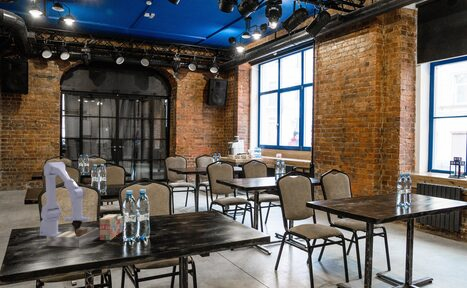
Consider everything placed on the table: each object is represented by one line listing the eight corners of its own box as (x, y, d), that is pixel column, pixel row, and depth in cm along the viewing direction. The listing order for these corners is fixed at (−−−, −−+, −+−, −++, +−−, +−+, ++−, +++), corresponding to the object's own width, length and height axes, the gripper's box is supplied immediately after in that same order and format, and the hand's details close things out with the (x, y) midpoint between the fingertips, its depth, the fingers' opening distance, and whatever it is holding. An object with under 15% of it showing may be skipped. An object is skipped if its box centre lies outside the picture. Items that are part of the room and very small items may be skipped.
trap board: (46, 245, 199) (46, 236, 199) (70, 235, 220) (70, 226, 220) (78, 247, 196) (78, 237, 196) (99, 236, 217) (99, 228, 217)
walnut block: (76, 236, 206) (76, 229, 206) (80, 234, 210) (80, 227, 210) (82, 237, 205) (82, 229, 205) (86, 235, 209) (86, 228, 209)
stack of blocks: (113, 230, 231) (113, 211, 231) (123, 230, 231) (123, 211, 231) (99, 240, 210) (99, 218, 210) (110, 240, 210) (110, 218, 209)
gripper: (60, 210, 205) (61, 235, 205) (84, 211, 202) (85, 236, 203) (68, 208, 212) (68, 231, 212) (91, 209, 209) (92, 233, 210)
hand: (77, 233), depth 208 cm, fingers closed, pressing on walnut block
